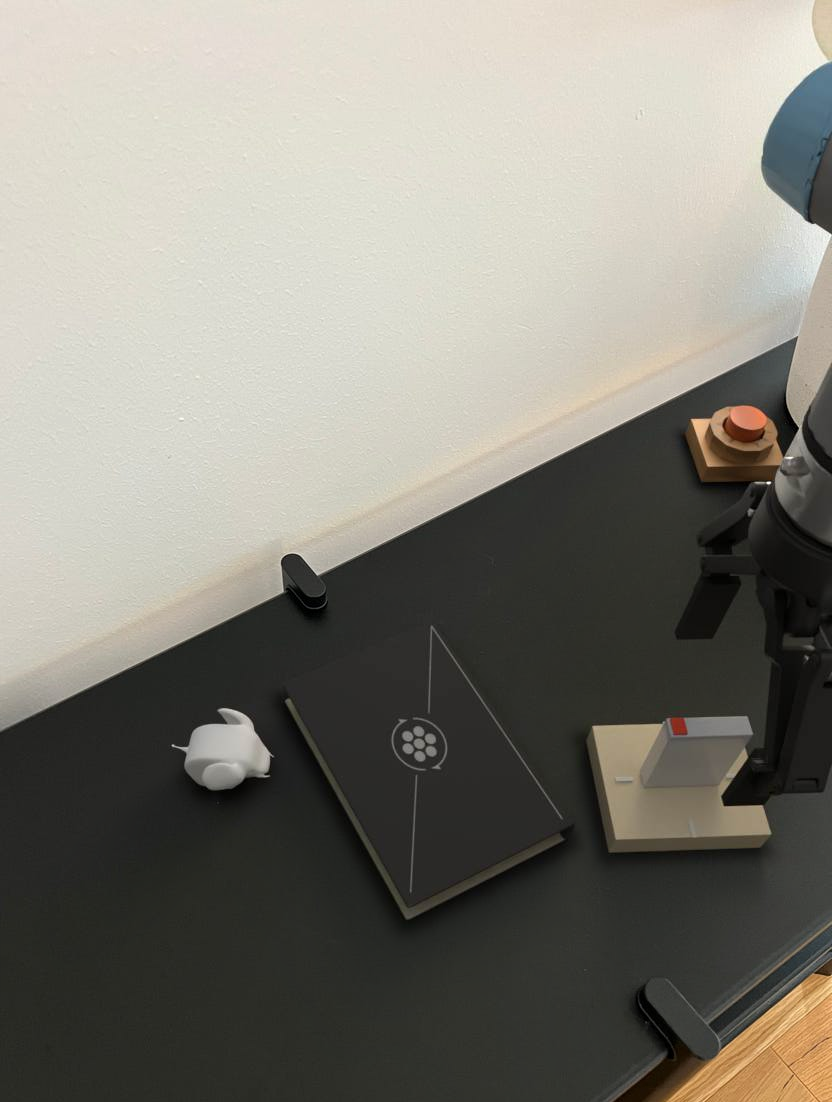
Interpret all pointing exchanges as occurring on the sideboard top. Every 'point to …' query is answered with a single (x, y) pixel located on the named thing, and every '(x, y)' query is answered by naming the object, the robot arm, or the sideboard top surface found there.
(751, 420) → the button
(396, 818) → the book
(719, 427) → the button block
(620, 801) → the panel
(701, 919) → the sideboard top surface
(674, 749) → the grey rectangular block
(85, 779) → the sideboard top surface
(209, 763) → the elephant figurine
